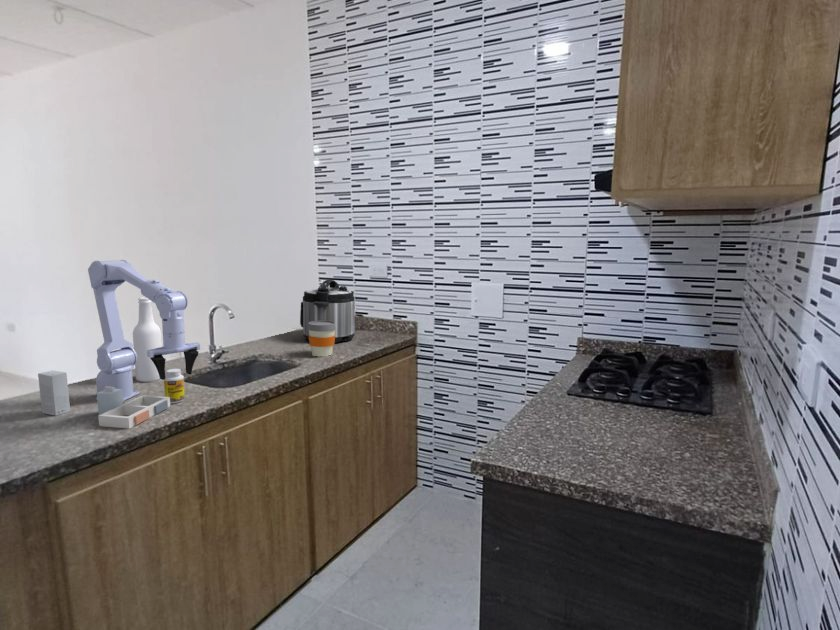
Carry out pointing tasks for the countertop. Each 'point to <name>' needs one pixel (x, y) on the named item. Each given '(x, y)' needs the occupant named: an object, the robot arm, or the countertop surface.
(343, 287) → the pressure cooker
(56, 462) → the countertop surface
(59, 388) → the skincare box
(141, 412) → the white divided frame
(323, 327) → the reusable coffee cup
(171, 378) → the supplement bottle
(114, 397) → the plug
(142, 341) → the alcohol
